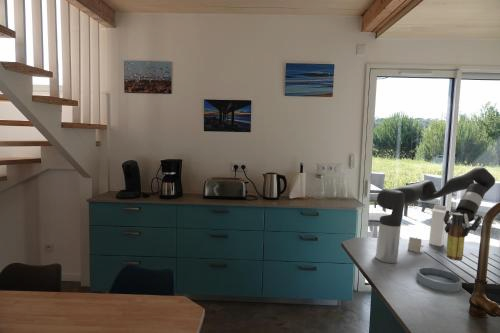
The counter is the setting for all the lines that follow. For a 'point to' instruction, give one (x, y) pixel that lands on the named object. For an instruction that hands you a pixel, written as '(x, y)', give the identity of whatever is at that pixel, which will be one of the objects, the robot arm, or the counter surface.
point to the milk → (438, 225)
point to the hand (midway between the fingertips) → (454, 233)
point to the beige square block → (414, 244)
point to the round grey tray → (439, 279)
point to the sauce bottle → (455, 238)
